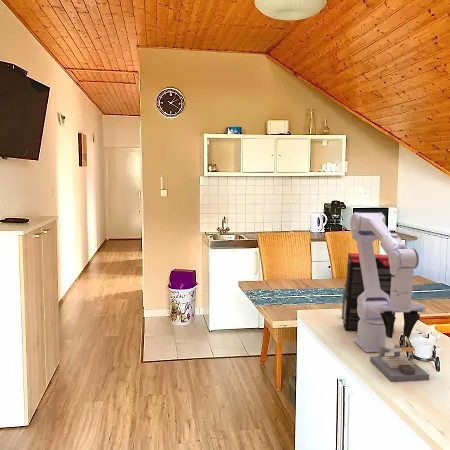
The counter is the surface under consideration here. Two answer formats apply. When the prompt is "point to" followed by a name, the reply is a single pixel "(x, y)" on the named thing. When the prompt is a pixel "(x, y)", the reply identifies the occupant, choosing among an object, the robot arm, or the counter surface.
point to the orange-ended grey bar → (399, 349)
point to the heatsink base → (398, 366)
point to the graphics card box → (362, 286)
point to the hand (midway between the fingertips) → (397, 336)
